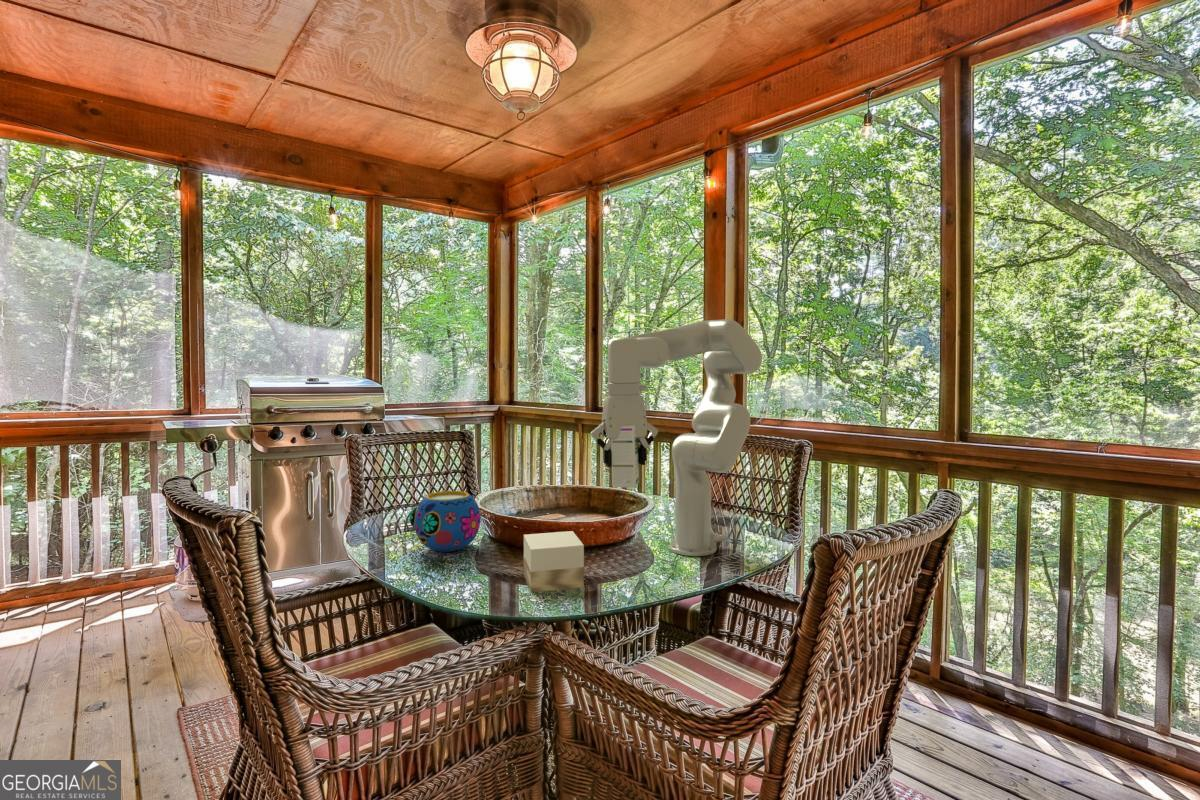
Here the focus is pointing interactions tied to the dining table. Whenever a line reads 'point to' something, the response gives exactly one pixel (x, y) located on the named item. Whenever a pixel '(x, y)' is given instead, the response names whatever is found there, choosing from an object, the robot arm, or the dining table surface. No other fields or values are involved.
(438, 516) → the ceramic pot
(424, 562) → the dining table surface
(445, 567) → the dining table surface
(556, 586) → the tower base slab
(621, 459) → the syrup box
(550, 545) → the tower top slab
